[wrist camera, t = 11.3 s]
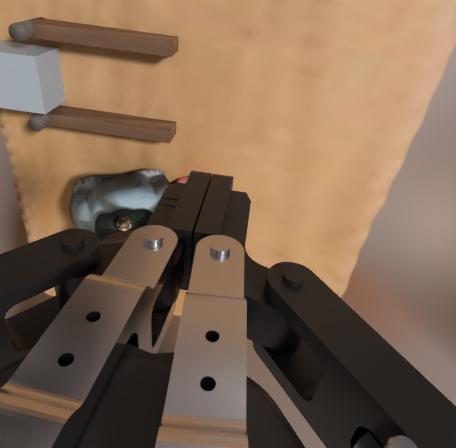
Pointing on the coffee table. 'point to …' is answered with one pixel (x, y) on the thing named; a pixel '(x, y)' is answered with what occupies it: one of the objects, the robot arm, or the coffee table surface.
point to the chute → (103, 39)
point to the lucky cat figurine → (116, 203)
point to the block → (30, 77)
